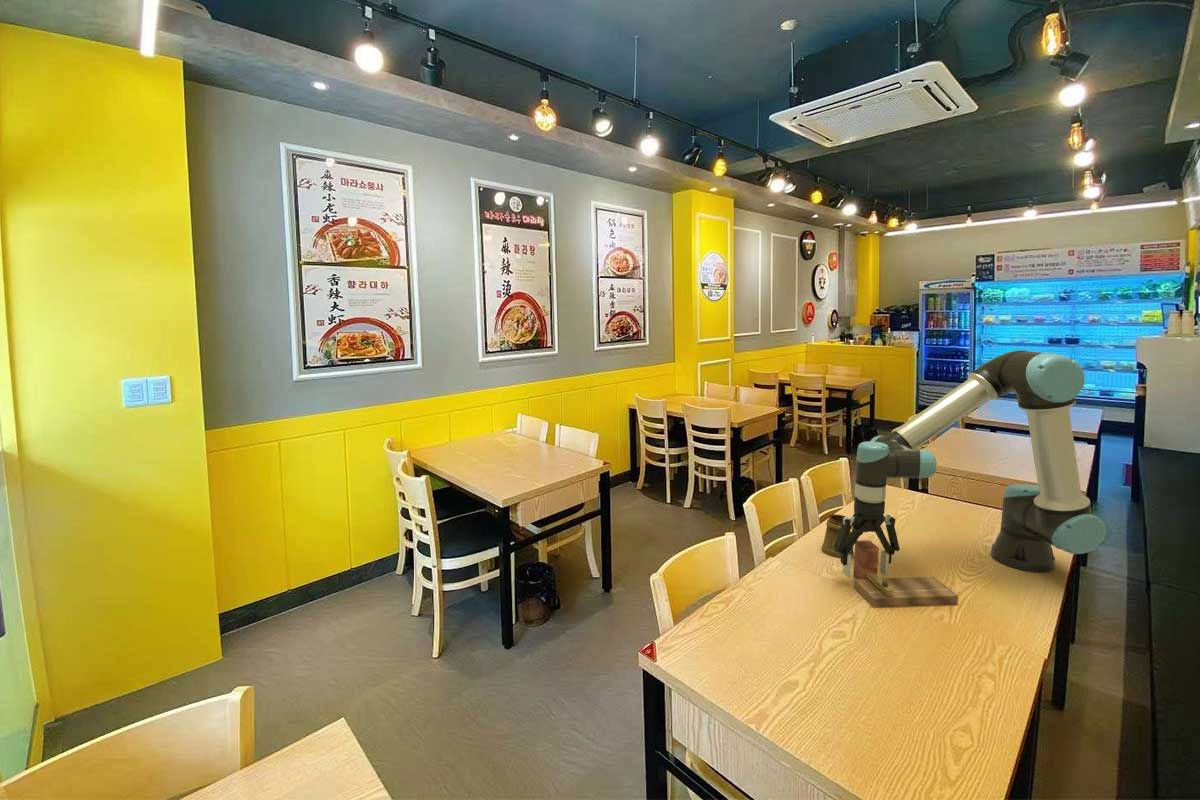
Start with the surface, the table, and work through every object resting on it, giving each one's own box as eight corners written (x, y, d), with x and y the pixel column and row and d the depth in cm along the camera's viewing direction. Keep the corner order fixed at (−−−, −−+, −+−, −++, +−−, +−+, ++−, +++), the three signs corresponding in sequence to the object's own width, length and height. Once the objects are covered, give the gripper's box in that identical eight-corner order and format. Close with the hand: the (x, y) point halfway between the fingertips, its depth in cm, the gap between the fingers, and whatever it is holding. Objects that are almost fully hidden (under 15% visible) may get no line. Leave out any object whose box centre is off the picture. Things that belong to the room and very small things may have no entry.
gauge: (867, 576, 153) (869, 540, 152) (897, 604, 138) (899, 564, 137) (853, 577, 153) (855, 540, 151) (881, 605, 138) (884, 565, 137)
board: (932, 585, 148) (933, 576, 148) (957, 604, 138) (958, 595, 138) (853, 587, 148) (854, 579, 147) (872, 607, 138) (873, 598, 138)
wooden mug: (858, 565, 160) (861, 508, 157) (816, 550, 171) (818, 496, 168) (872, 557, 166) (876, 501, 163) (831, 542, 176) (833, 490, 173)
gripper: (902, 492, 151) (897, 567, 154) (823, 495, 150) (819, 569, 154) (918, 502, 143) (912, 579, 147) (835, 504, 143) (831, 582, 147)
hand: (865, 574), depth 150 cm, fingers open, 10 cm apart
